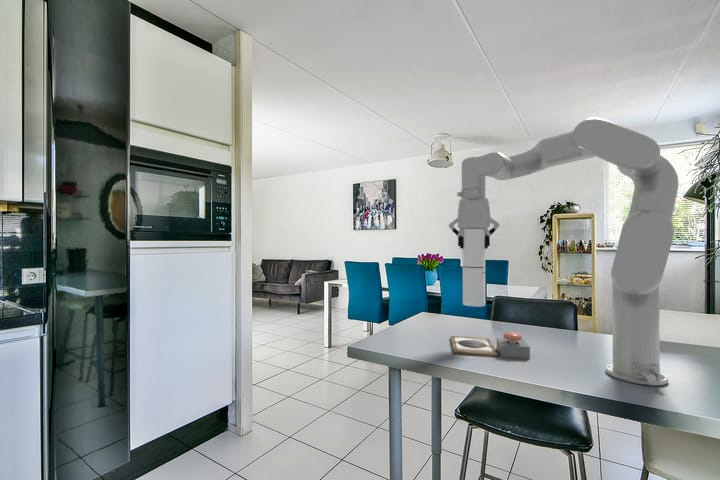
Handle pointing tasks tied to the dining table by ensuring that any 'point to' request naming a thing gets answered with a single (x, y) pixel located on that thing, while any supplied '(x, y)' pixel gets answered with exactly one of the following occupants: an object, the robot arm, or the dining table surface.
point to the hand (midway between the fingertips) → (473, 248)
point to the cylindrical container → (474, 267)
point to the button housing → (513, 349)
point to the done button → (512, 337)
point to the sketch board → (473, 346)
